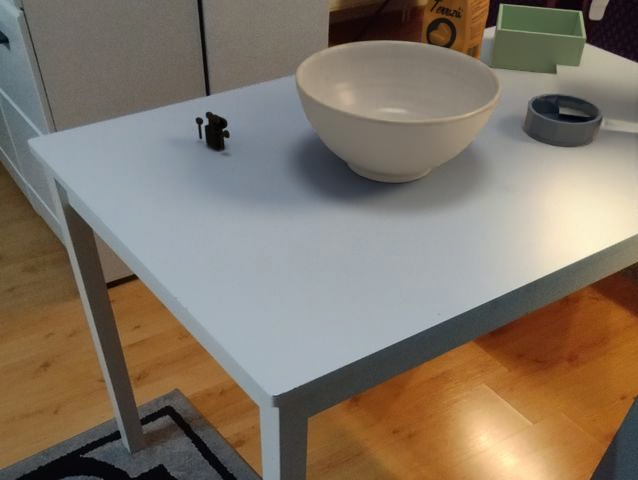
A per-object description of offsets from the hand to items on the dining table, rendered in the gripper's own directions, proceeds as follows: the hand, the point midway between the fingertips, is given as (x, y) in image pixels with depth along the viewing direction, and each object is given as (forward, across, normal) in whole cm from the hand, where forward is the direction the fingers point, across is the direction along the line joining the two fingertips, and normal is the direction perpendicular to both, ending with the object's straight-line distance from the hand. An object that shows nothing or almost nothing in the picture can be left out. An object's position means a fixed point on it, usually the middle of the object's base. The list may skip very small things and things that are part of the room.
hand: (592, 8), depth 98 cm
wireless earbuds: (+17, -24, +50) cm, 58 cm away
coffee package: (+17, +14, +20) cm, 29 cm away
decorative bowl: (+17, -22, +24) cm, 37 cm away
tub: (+16, +26, +4) cm, 31 cm away
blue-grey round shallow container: (+16, -5, 0) cm, 17 cm away
